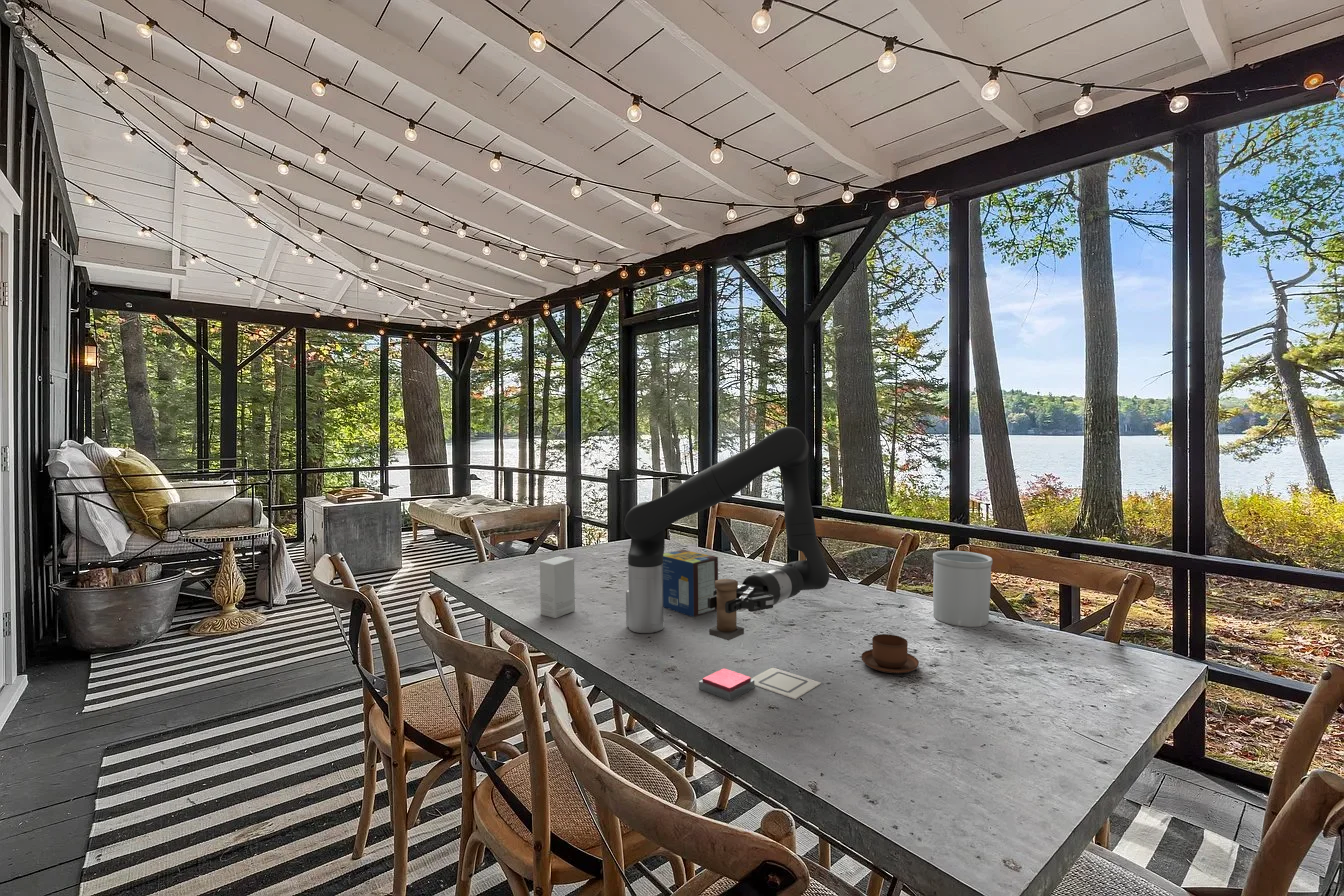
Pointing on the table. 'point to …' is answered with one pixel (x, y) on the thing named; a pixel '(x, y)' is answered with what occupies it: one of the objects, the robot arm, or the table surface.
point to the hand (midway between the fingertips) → (718, 605)
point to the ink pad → (726, 684)
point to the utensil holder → (961, 588)
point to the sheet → (784, 683)
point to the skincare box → (557, 586)
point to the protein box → (689, 581)
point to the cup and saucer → (890, 655)
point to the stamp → (725, 620)
